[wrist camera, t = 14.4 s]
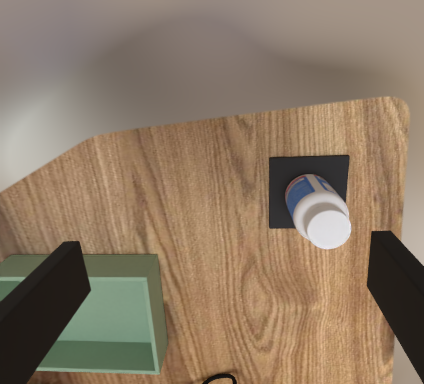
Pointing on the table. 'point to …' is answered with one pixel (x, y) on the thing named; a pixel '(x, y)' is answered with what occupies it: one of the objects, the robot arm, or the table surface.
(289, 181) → the mat
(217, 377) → the glasses
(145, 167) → the table surface
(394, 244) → the robot arm
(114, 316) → the tote
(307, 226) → the pill bottle
